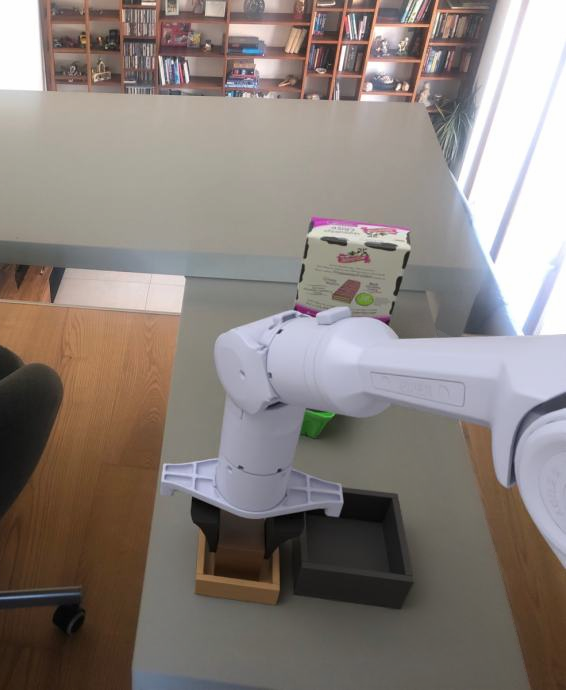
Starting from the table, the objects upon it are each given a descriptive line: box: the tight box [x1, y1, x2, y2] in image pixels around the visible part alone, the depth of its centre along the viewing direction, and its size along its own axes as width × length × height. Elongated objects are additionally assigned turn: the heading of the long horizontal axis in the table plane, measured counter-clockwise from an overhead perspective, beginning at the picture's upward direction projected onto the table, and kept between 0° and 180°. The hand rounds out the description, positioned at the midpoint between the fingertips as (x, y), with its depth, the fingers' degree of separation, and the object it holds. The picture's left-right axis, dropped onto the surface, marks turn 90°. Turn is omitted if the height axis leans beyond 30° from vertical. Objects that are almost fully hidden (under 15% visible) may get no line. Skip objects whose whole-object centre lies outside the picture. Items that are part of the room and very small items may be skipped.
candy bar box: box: [292, 216, 412, 327], centre depth 83 cm, size 11×5×16 cm, turn 73°
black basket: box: [290, 486, 415, 610], centre depth 63 cm, size 9×9×4 cm
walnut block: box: [213, 509, 266, 582], centre depth 62 cm, size 4×4×5 cm
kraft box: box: [193, 527, 281, 606], centre depth 64 cm, size 7×7×2 cm
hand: (239, 546), depth 62 cm, fingers closed on walnut block, 4 cm apart
